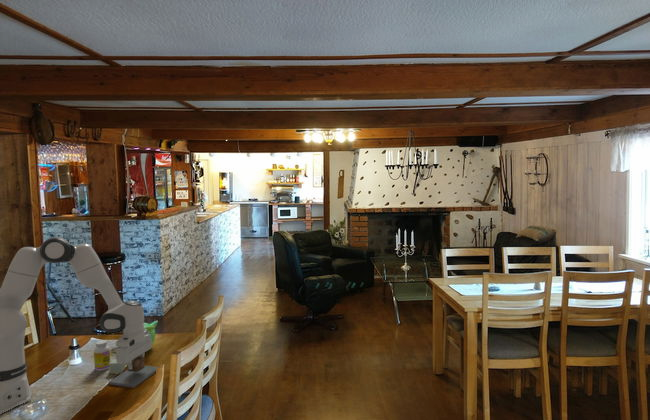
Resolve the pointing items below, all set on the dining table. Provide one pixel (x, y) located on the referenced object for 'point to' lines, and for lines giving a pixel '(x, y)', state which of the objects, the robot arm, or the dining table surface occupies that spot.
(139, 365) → the walnut cube
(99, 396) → the dining table surface
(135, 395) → the dining table surface
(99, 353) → the supplement bottle
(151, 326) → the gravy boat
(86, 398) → the dining table surface
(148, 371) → the slate board
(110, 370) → the sage cube
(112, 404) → the dining table surface
